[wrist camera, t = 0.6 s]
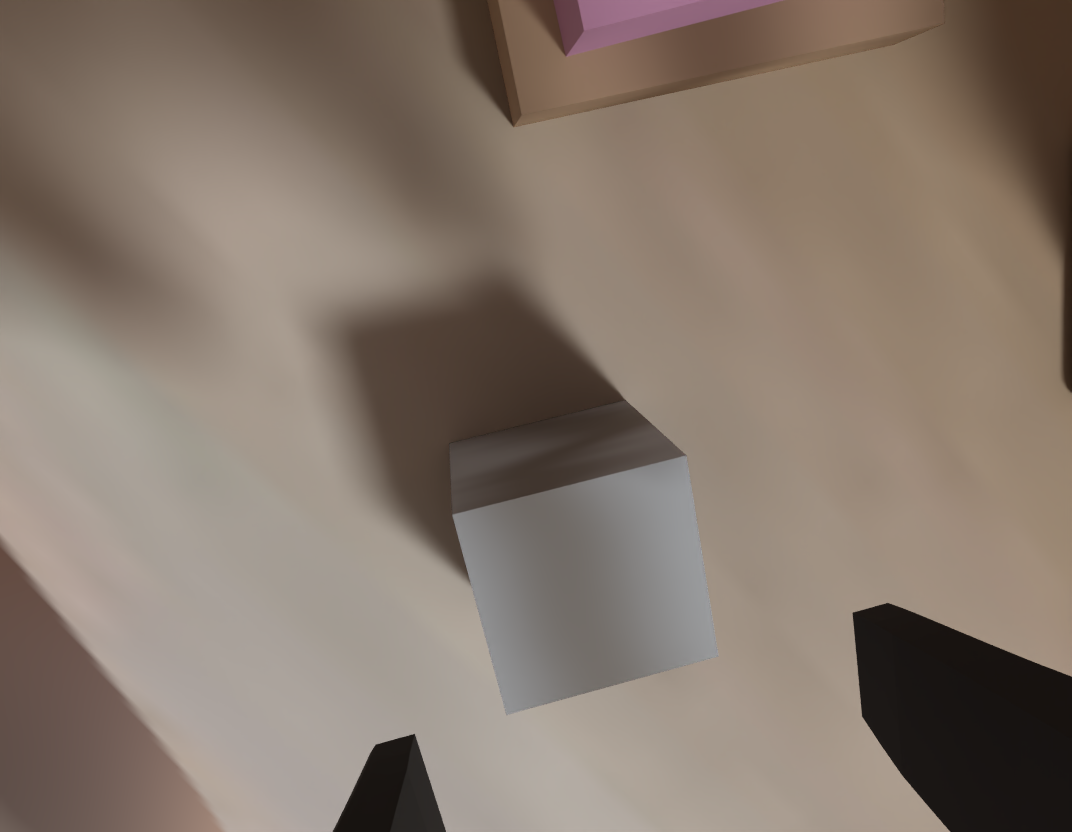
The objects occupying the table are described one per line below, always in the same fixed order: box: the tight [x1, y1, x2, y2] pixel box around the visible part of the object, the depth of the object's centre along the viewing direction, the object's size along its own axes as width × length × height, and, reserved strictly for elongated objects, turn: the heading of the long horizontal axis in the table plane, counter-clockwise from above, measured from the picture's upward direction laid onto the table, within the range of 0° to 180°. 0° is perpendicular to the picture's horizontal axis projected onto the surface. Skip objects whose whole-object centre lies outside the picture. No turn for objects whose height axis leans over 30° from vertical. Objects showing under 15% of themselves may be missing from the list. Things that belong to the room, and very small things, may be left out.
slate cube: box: [449, 400, 718, 715], centre depth 17 cm, size 5×5×5 cm
